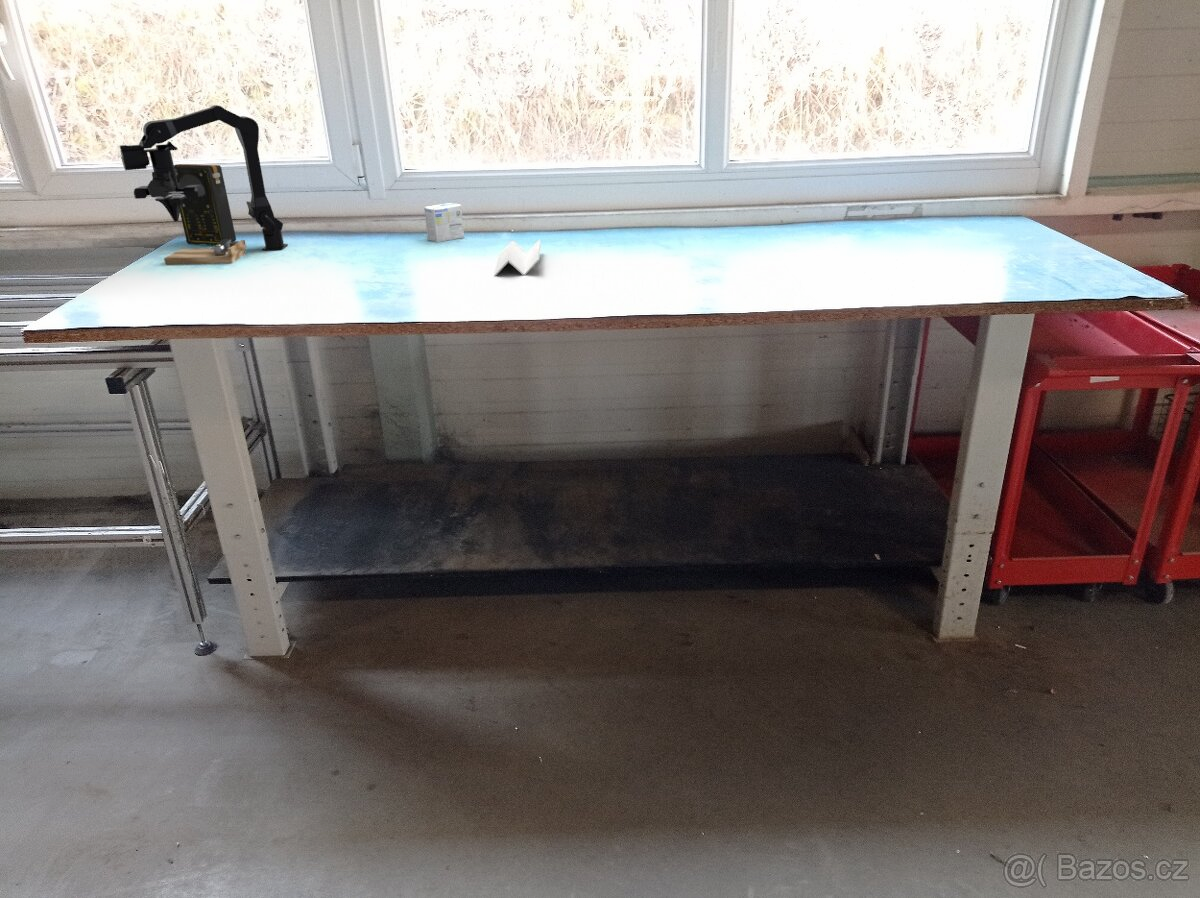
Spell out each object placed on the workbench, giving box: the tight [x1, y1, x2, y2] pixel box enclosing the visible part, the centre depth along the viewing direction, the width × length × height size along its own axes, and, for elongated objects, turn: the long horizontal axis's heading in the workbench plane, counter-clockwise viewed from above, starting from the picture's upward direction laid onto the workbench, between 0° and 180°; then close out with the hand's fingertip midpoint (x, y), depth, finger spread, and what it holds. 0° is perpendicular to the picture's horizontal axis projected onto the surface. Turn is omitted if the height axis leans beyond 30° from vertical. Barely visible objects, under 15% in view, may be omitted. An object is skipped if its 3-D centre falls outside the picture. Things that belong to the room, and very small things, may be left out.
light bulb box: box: [423, 202, 465, 243], centre depth 280 cm, size 11×7×11 cm, turn 130°
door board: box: [163, 239, 247, 266], centre depth 262 cm, size 12×20×4 cm, turn 91°
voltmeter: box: [174, 163, 237, 246], centre depth 278 cm, size 16×9×25 cm, turn 73°
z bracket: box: [493, 239, 542, 277], centre depth 249 cm, size 12×25×6 cm
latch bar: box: [212, 239, 231, 255], centre depth 262 cm, size 11×3×3 cm, turn 6°
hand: (176, 221), depth 256 cm, fingers closed
